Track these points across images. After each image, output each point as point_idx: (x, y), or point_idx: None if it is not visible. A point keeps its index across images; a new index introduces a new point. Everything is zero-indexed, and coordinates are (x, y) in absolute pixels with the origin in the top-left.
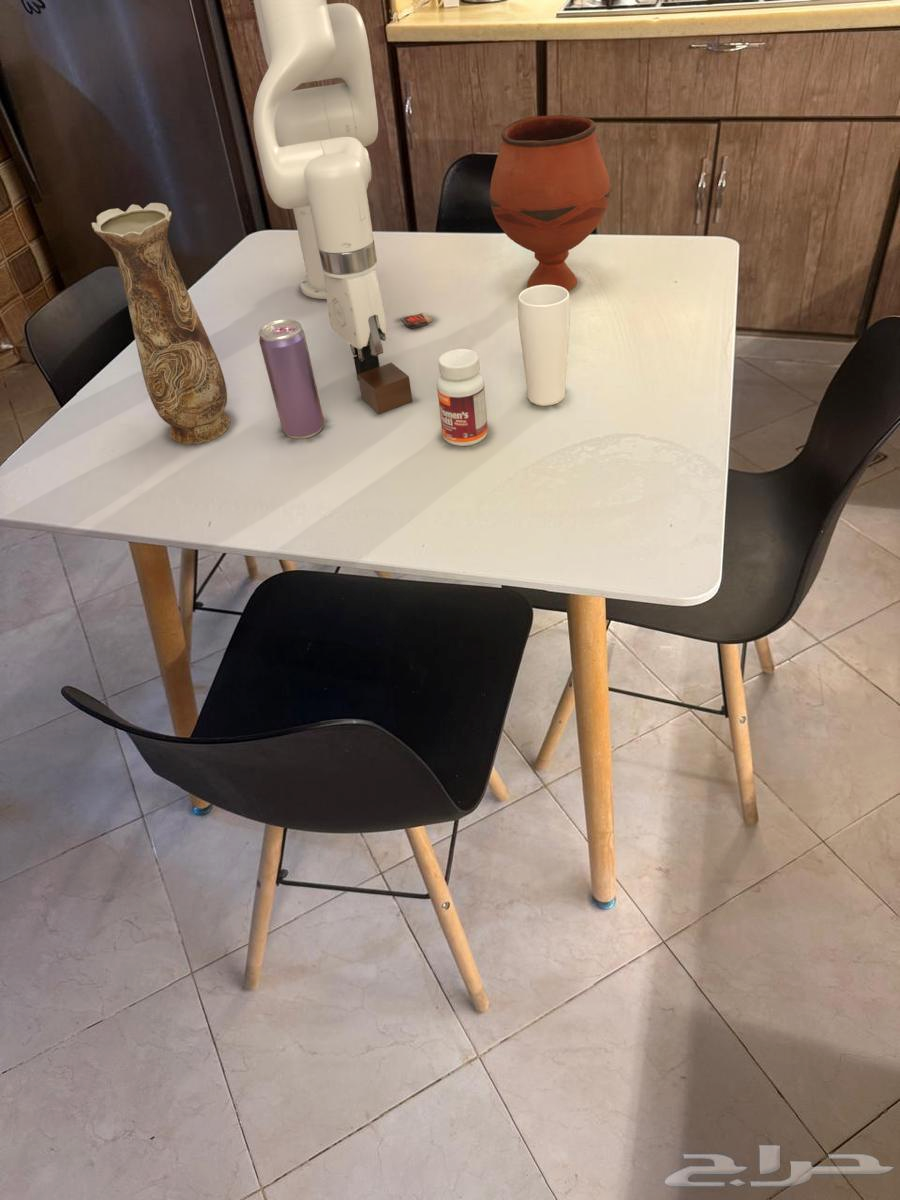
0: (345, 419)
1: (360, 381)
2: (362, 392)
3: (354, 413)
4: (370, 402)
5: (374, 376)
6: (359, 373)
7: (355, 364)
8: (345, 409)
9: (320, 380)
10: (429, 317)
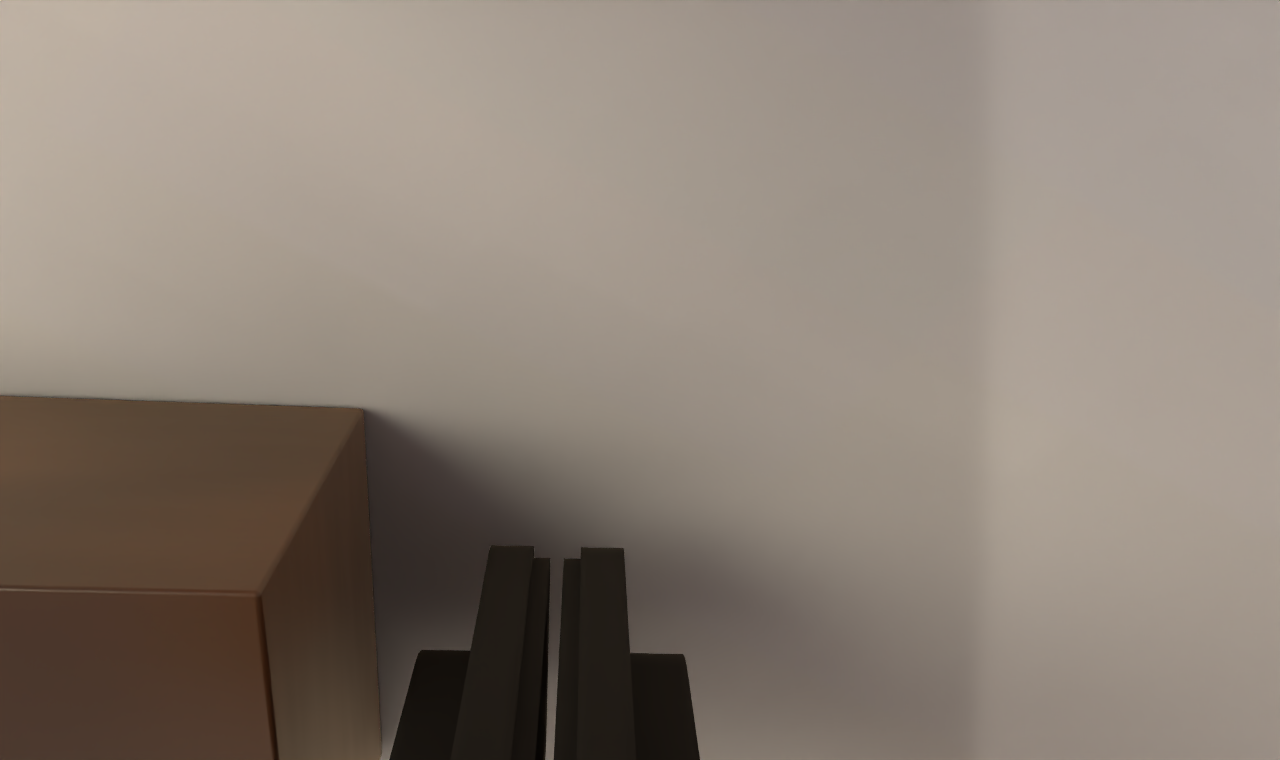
0: (3, 10)
1: (222, 538)
2: (271, 453)
3: (93, 180)
4: (74, 425)
5: (29, 739)
6: (511, 628)
7: (603, 701)
8: (260, 140)
9: (1148, 246)
10: None
